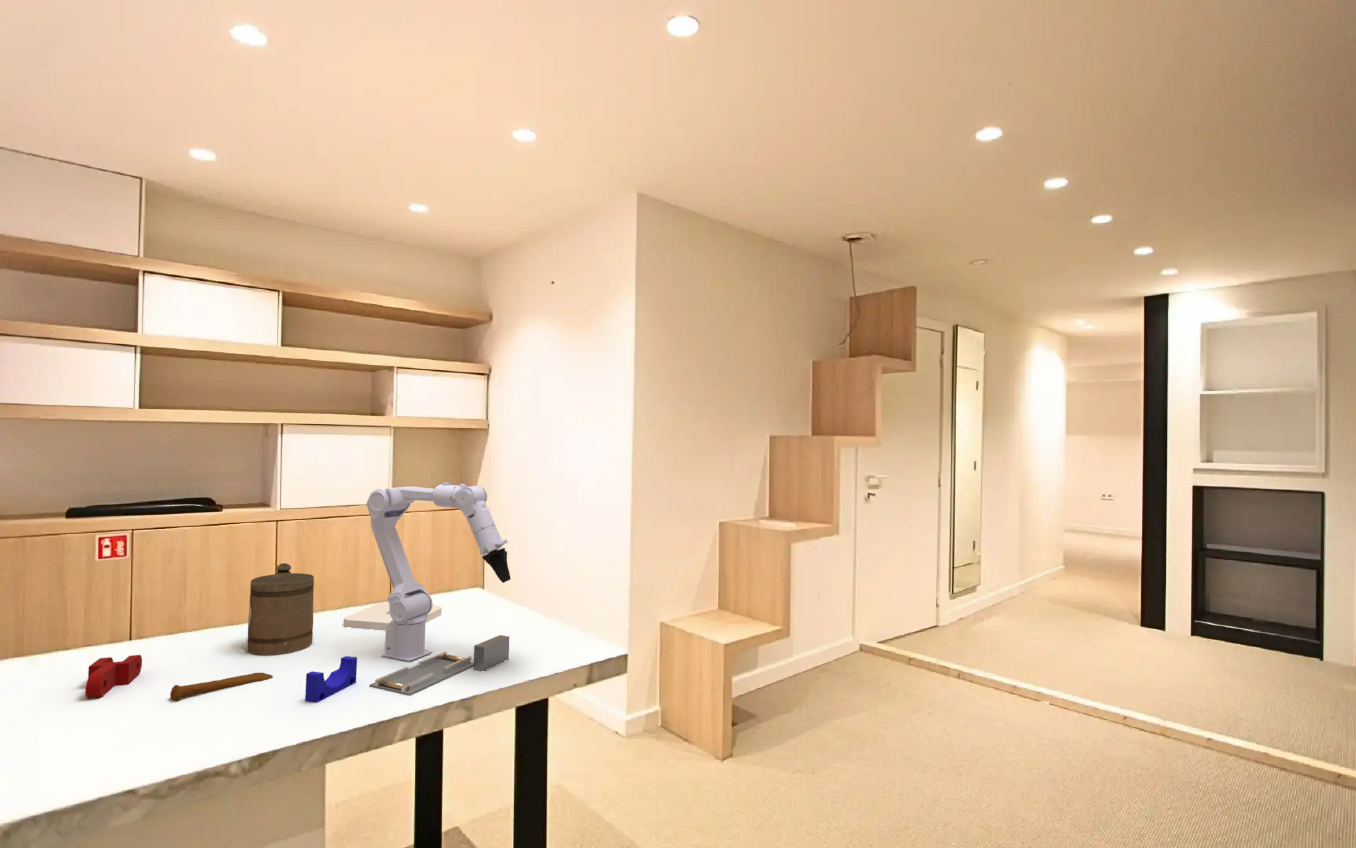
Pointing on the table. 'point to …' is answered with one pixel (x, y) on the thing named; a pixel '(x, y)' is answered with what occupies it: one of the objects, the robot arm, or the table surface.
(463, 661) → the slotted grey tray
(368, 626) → the tapered beige board
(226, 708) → the table surface
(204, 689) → the primitive tool
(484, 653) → the dark gray rectangular chunk
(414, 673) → the grey slide base plate
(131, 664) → the mechanical linkage
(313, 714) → the table surface
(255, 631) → the wooden container
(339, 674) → the blue cradle bracket
